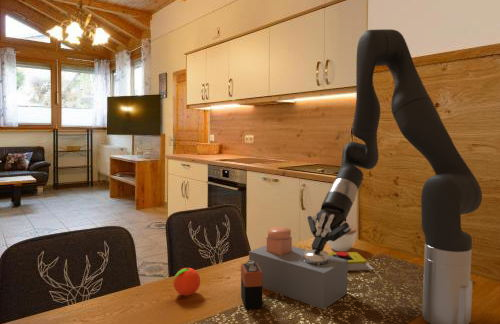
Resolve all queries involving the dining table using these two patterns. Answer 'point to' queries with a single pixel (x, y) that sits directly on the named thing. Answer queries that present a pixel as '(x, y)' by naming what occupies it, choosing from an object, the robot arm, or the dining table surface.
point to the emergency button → (353, 260)
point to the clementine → (186, 281)
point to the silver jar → (315, 257)
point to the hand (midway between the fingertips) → (315, 251)
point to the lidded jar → (344, 241)
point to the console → (302, 276)
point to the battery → (251, 285)
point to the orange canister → (279, 240)
